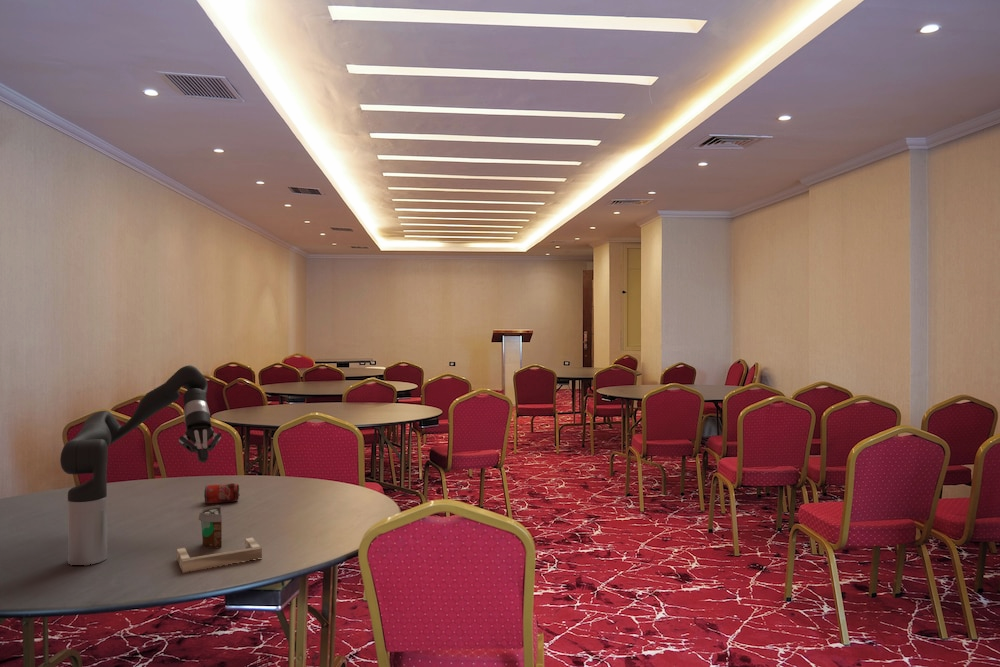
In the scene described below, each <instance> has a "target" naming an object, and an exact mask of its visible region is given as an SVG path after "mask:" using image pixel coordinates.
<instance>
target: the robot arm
mask: <svg viewBox="0 0 1000 667" xmlns="http://www.w3.org/2000/svg"><path fill="white" fill-rule="evenodd" d="M208 385H209V384H208V380H207V378H206V377H205V375H204V374H202V372H201V371H200V370H199V369H198V368H197V367H196V366H194V365H191V364H189V365H184V366H182V367H181V368H179V369H178V370H177V371H176V372H175V373H173V375H171V377H168V380H166V381H165V382H164V383H163V384H160V385H159V386H157V387H155V388H154V389H153V390H150V391H148V392H147V393H146V394H145V395H144V396H143V397H142V399H141V400H140V402H139V404H137V407H136V409H135V410H134V412H133V414H132V416H130V417H131V418H130V419H129V420H127V422H125V423H124V424H123V425H121V424H120V423H119V421H118V420H117V419H116V417H115V416H114V415H113V413H112V412H110V411H108V410H102V411H97V412H96V413H93V414H91V416H89V417H88V418H87V419H85V421H84V422H83V424H82V427H81V429H80V430H79V432H77V434H76V435H75V437H73V438H72V439H70V440H69V441H67V442H65V444H64V445H63V448H62V450H61V452H60V459H59V462H60V466H61V467H60V468H61V470H63V472H64V473H65V474H67V475H86V474H87V475H88V474H93V476H92V478H90V479H89V480H87V481H85V482H84V483H81V484H78V485H76V486H74V487H73V486H72V488H70V489H69V490H68V492H67V564H68V565H69V564H70V565H69V566H72V565H84V566H90V564H91V565H95V564H98V563H102V562H104V561H106V560H107V558H108V501H107V500H108V496H107V494H108V493H107V492H108V491H107V490H108V489H107V488H108V487H107V484H108V483H107V481H108V480H107V478H108V477H107V474H108V473H107V472H108V459H109V458H108V457H109V456H108V455H109V454H108V453H109V451H108V450H109V449H108V448H109V447H110V445H112V444H114V443H116V442H117V441H119V440H120V439H121V438H124V436H126V435H127V434H129V433H130V432H131V431H133V430H134V429H136V428H137V427H139V426H140V425H141V424H142V423H144V422H145V421H147V420H148V419H149V418H150V417H152V416H153V415H155V414H156V413H158V412H159V411H162V409H164V408H166V407H168V406H170V405H172V404H173V403H175V402H176V401H178V400H179V399H180V396H181V394H180V391H179V390H180V389H181V388H182V387H184V388H185V389H186V391H185V392H184V394H183V398H182V400H183V409H184V412H183V414H184V416H183V417H184V424H185V433H184V435H180V436H179V438H178V444H180V445H181V446H182V447H183V448H185V449H186V450H187V451H188V452H190V453H196V455H197V460H198V462H200V463H206V462H207V461H208V459H209V452H210V451H211V452H212V451H213V450H214V448H215V447H216V446H217V445H218V444H219V442H220V441H221V439H222V433H220V432H218V433H217V432H215V431H214V429H213V427H212V420H211V412H210V409H209V406H208V401H207V400H208V399H207V394H208V387H209V386H208ZM211 439H212V440H211ZM210 440H211V441H210Z"/></svg>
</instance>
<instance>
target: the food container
mask: <svg viewBox="0 0 1000 667" xmlns="http://www.w3.org/2000/svg"><path fill="white" fill-rule="evenodd" d="M221 506H222V505H218V504H217V505H211V506H208V507H204V508H202V509H201V510H200V512H199V514H198V521H200V522H201V523H200V524H201V537H202V546H203V547H204V546H205V547H204V548H207V547H222V537H223V536H222V533H223V532H222V523H223V522H222V521H223V520H222V519H223V518H222V513H221V512H222V509H221V508H222V507H221ZM222 548H223V547H222Z"/></svg>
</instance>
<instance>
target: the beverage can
mask: <svg viewBox="0 0 1000 667" xmlns="http://www.w3.org/2000/svg"><path fill="white" fill-rule="evenodd" d="M203 493H204V494H203V496H204V503H205V504H208V505H209V504H219V503H220V504H221V503H232V502H233V503H234V502H236V501H238V500H239V499H240V496H241V495H240V486H239V484H237V483H221V484H209V485H208V484H206V485H205V486H204V492H203Z"/></svg>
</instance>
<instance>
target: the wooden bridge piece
mask: <svg viewBox="0 0 1000 667" xmlns="http://www.w3.org/2000/svg"><path fill="white" fill-rule="evenodd" d="M244 541H245V542H244V546H245V548H246V549H245V548H241V549H237V550H230V551H224V552H218V553H212V554H211V553H210V554H205V555H200V556H199V555H197V556H193V557H192V556H191V557H190V555H189V553H188V551H187V549H186V547H181V548H177V549H176V560H177V563H178V565H179V567H180V570H181V572H182V573H183V574H184V573H189V571H190V572H194V571H202V570H206V569H207V568H208V569H213V568H212V567H214V568H218V567H217V566H219V567H223V566H222V565H225V566H229V565H228V564H231V565H233V564H232V563H237V564H239V563H238V562H242V561H248V560H253V559H258V558H262V559H263V551H262V550H263V549H262V547H261V545H260V544H259V543H258V542H257V541H256V540H255V539H254V537H247V538H245V539H244ZM208 569H207V570H208Z"/></svg>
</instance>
